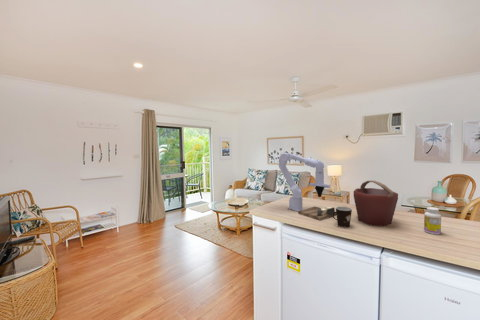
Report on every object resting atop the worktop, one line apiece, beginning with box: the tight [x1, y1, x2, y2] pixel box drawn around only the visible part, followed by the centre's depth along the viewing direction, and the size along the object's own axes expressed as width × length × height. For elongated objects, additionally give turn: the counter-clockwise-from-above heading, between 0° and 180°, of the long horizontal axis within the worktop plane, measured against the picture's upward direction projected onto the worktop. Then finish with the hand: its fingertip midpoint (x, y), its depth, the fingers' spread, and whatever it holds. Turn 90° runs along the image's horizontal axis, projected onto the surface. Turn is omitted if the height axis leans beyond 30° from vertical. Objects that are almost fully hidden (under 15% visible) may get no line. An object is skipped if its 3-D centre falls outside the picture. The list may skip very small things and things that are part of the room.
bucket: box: [353, 180, 399, 227], centre depth 130 cm, size 24×22×25 cm
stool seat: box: [297, 206, 337, 222], centre depth 147 cm, size 18×18×6 cm
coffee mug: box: [332, 206, 353, 228], centre depth 126 cm, size 12×9×10 cm
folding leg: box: [321, 206, 335, 215], centre depth 142 cm, size 12×3×3 cm, turn 123°
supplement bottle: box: [423, 206, 442, 235], centre depth 112 cm, size 7×7×13 cm
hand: (319, 196), depth 154 cm, fingers closed
